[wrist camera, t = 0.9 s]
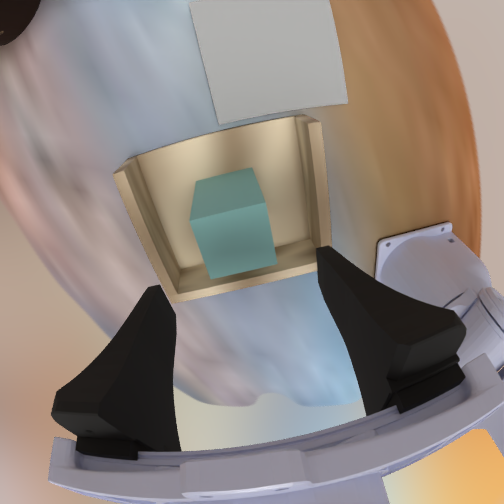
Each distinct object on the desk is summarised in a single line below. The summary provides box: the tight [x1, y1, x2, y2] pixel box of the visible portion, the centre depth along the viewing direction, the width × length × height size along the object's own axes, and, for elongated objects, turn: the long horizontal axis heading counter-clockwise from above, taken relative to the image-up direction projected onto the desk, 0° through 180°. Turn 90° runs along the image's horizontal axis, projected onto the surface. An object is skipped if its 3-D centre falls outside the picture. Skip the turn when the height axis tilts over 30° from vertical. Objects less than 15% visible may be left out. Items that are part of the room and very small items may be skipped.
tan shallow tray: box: [113, 114, 332, 304], centre depth 20 cm, size 13×11×4 cm
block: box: [189, 167, 278, 279], centre depth 18 cm, size 4×4×6 cm
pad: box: [189, 0, 348, 125], centre depth 15 cm, size 9×9×1 cm
